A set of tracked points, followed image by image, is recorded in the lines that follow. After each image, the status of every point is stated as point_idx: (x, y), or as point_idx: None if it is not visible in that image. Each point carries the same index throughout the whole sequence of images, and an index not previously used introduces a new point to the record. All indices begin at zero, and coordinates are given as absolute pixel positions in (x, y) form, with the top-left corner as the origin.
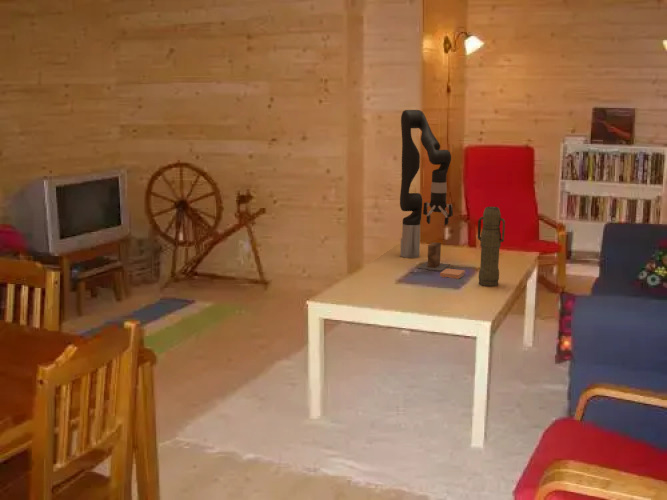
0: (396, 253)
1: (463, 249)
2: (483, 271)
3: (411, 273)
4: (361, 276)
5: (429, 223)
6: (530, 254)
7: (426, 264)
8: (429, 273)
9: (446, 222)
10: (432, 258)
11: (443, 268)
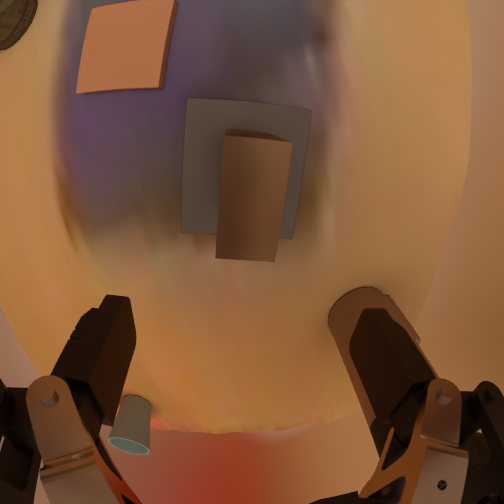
0: None
1: (211, 420)
2: None
3: (316, 21)
4: None
5: (358, 323)
6: None
7: None
8: (236, 39)
9: (92, 325)
10: (245, 132)
11: (185, 134)
